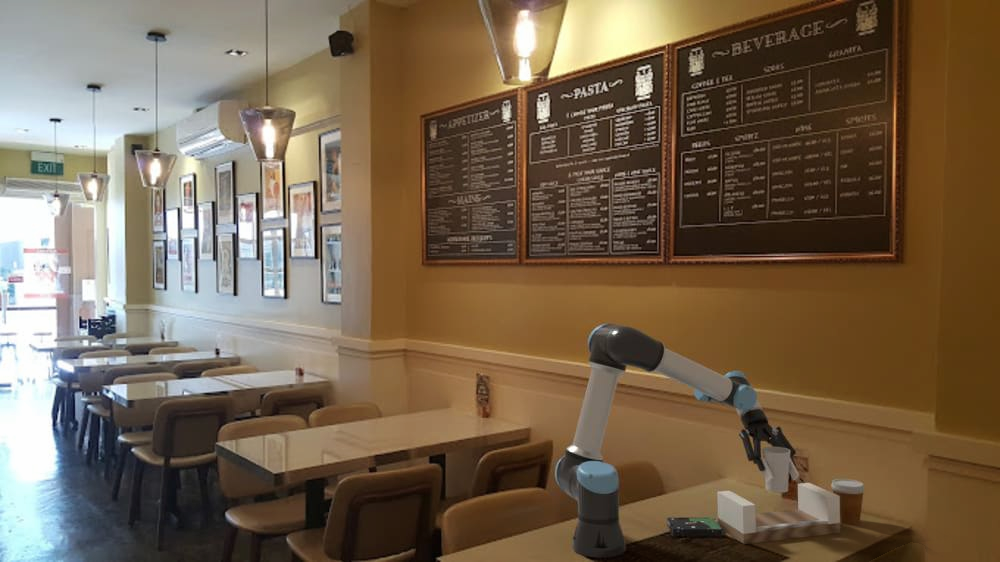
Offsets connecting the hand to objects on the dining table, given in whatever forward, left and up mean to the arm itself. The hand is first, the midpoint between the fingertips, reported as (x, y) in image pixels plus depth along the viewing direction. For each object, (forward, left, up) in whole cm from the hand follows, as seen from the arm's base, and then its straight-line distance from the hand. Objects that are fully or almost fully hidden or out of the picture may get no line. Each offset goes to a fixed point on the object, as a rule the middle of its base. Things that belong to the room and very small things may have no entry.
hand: (783, 478), depth 208 cm
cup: (-3, +2, -4) cm, 6 cm away
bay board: (-3, +2, -16) cm, 17 cm away
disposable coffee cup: (+9, +24, -17) cm, 30 cm away
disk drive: (-21, -16, -17) cm, 31 cm away
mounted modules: (-3, +2, -13) cm, 14 cm away
